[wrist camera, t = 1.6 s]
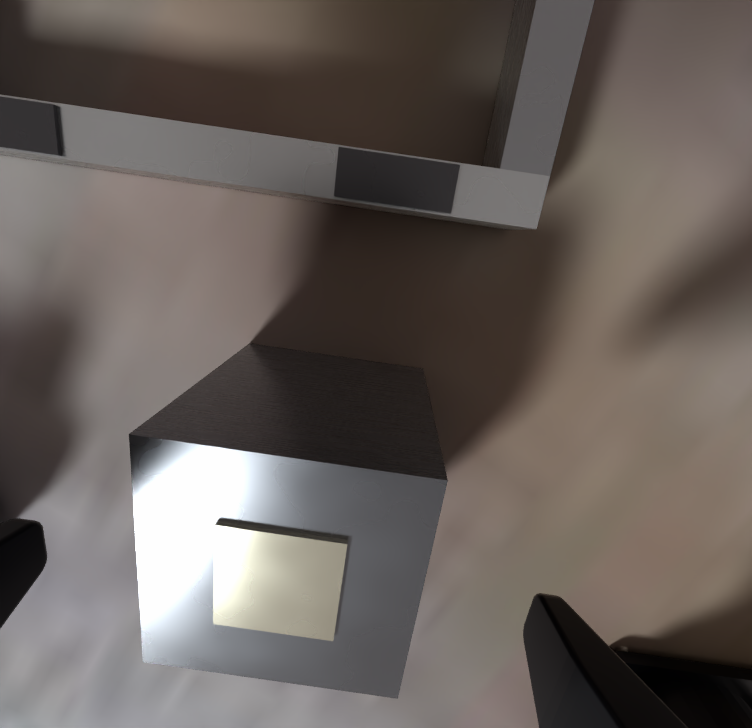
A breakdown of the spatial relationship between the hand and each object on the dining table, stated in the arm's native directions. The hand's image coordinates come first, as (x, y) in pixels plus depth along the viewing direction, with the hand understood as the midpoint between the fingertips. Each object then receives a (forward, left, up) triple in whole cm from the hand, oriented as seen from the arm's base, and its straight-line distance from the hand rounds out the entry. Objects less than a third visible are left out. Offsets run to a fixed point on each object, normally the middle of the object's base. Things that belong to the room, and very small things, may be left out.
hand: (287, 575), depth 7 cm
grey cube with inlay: (0, 0, -5) cm, 5 cm away
